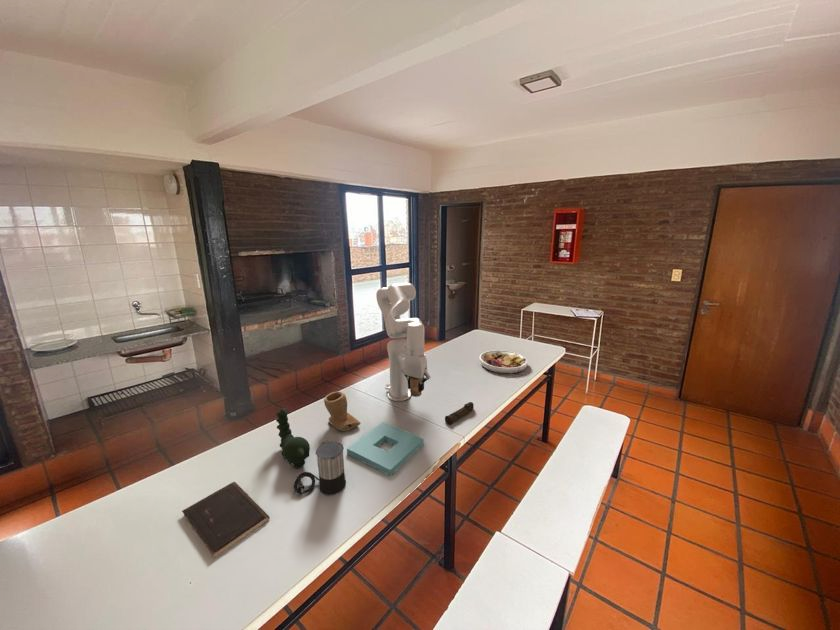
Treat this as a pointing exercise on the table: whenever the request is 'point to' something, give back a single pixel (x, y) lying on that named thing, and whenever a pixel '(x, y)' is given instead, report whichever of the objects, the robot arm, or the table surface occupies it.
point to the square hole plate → (380, 458)
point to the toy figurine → (291, 442)
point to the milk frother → (326, 470)
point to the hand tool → (459, 413)
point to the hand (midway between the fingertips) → (415, 388)
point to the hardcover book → (225, 517)
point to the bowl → (503, 361)
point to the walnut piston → (414, 387)
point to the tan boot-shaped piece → (339, 411)
